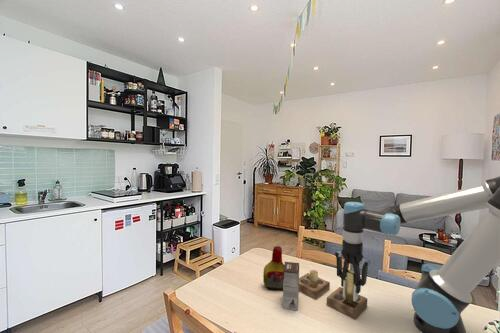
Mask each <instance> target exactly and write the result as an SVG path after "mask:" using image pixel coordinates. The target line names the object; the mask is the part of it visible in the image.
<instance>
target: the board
mask: <svg viewBox="0 0 500 333" xmlns="http://www.w3.org/2000/svg"><path fill="white" fill-rule="evenodd" d="M330 286H331V282H330V281H327V280H326V279H323V278H320V277H319V272H318V271H317V270H314V269H313V270H310V271H309V272H307V273H305V274H304V275H302V276H299V293H302V294H304V295H305V296H307V297H310V298H312V299H314V300H315V301H317V300H319V299H320V298H321V297H322V296H323V295H324V294H326V293H327V292H328V291H330V288H331V287H330Z"/></svg>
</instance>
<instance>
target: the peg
mask: <svg viewBox="0 0 500 333" xmlns="http://www.w3.org/2000/svg"><path fill="white" fill-rule="evenodd" d="M355 283H356V282H355V274H354V269H353V270H352V269H348V270H347V273H346V298H345V300H346V302H348V303H351V304H353V303H355V301H353V291H354V284H355Z"/></svg>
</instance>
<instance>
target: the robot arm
mask: <svg viewBox="0 0 500 333" xmlns="http://www.w3.org/2000/svg"><path fill="white" fill-rule="evenodd" d="M485 209H488V210H487V212H486V214H485V215H484V216H483V217H482V218H481V219H480V221H479V222H478V223H477V224H476V225H475V227H474V228H473V229H472V230H471V231H470V233H469V234H468V235H467V236H466V237H465V238H464V240H463V241H462V242H461V244H459V246H458V247H457V248H456V249H455V250H454V252H453V253H452V254H451V255H450V256H449V258H448V259H447V260H446V261H445V262H444V264H442V265H440V264H436V263H428V262H427V263H423V264H422V265H421V269H420V270H421V275H420V280H419V281H418V283H417V285H416V288H415V289H414V290H413V292H412V293H411V306H412V308H413V310H414V313H413V323H414V325H415V326H416V328H417V329H418V330H419V331H420V332H422V333H467V331H466V330H467V329H466V328H465V324H464V322H463V319H462V315H461V314H462V313H463V311H465V309H466V308H467V307H468V306H469V305H470V304H472V302H473V297H472V294H471V292H472V291H473V290H475V288H476V287H477V286H478V285H479V284H480V283H481V282H482V281H483V280H484V279H485V277H487V275H488V274H489V273H490V272H491V271H492V270H493V269H494V268H495V267H497V265H498V264H499V263H500V175H499V176H497V177H494V178H489V179H485V180H483V182H482V183H481V184H480V185H479V184H478V185H474V186H470V187H466V188H462V189H459V190H458V189H457V190H453V191H449V192H446V193H440V194H437V195H433V196H428V197H424V198H421V199H416V200H413V201H409V202H403V203H400V204H395V205H388V206H385V207H384V208H382V209H381V210H379V211H377V210H372V209H371V210H370V209H367V208H366V207H365V204H364V203H362V202H357V201H347V202H345V203H344V207H343V212H342V214H343V216H342V217H343V221H342V223H343V225H342V226H343V227H342V239H343V240H342V245H341V246H342V249H341V251H340V250H339V251H338V250H337V251H336V252H335V253H334V255H335V258H336V276H337V277H339V278H340V287H342V288H343V296H344V297H345V296H346V273H347V270H349V268H350V264H351V265H352V268H353V271H354V274H355V282H356V283H355V284H354V291H353V301H356V300H357V299H358V295H360V293H361V289H362V287H364V286H365V285H366V284H367V279H368V278H367V277H368V271H369V270H368V269H369V266H370V264H371V261H370V260H367V259H365V258H364V255H363V250H364V249H363V246H364V244H363V241H364V230H366V231H367V230H368V231H371V232H372V231H373V232H377V233H381V234H383V235H390V236H391V235H392V236H397V235H398V234H399V232H400V230H401V225H404V224H409V223H414V222H418V221H425V220H429V219H435V218H440V217H441V218H442V217H446V216H451V215H457V214H463V213H468V212H473V211H479V210H485ZM343 259H344V262H343ZM361 262H362V263H361ZM360 263H361V265H362V267H361V271H360Z"/></svg>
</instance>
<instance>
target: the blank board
mask: <svg viewBox="0 0 500 333" xmlns="http://www.w3.org/2000/svg"><path fill="white" fill-rule="evenodd" d="M345 298H346V296H345V297H344V296H343V287H342V286H339V287H337V289H335V290H334V291H333V292H331V293H330V294H329V295H327V297H326V306H327V307H329V308H332V309H334V310H335V311H337V312H339V313H342V314H343V315H345V316H347V317H349V318H351V319H354V320H356V319H357V318H358V317H359V316H360V315H361V314H362V313H363V311H365V309H366V308H367V307H368V298H367V297H365V296H363V295H360V294H358V299H357V300H356V301H355V303H353V304H351V303H348V302H346V300H345Z"/></svg>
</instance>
